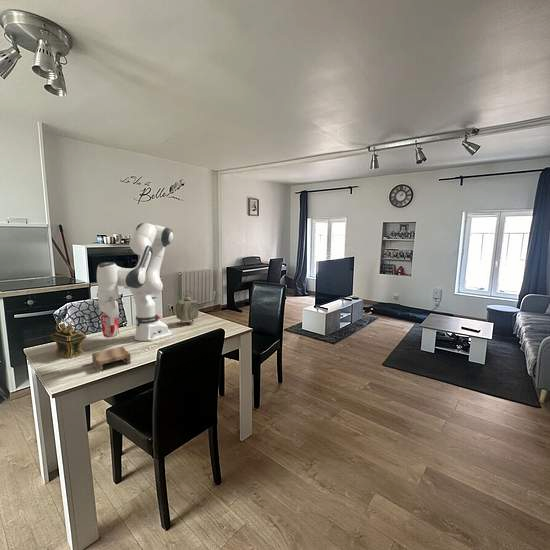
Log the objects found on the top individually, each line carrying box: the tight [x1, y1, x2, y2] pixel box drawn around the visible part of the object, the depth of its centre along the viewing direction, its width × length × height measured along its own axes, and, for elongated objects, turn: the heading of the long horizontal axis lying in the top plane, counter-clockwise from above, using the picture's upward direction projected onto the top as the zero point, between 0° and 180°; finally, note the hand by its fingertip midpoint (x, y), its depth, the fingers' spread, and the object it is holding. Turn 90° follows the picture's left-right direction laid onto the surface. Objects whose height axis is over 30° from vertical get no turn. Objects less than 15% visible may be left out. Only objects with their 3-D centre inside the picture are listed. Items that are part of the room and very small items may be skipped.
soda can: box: [100, 312, 120, 339], centre depth 142 cm, size 7×7×12 cm
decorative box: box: [49, 317, 87, 359], centre depth 154 cm, size 20×10×20 cm, turn 65°
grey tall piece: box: [175, 290, 200, 326], centre depth 210 cm, size 14×9×25 cm, turn 136°
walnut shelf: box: [91, 346, 131, 373], centre depth 144 cm, size 14×13×5 cm
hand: (109, 322), depth 142 cm, fingers closed on soda can, 7 cm apart
